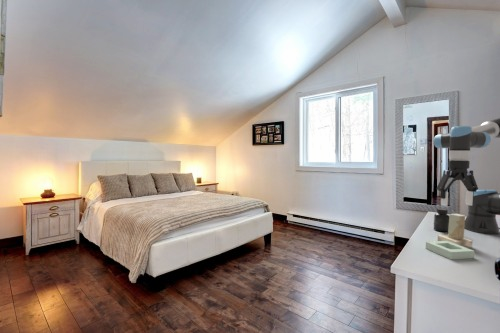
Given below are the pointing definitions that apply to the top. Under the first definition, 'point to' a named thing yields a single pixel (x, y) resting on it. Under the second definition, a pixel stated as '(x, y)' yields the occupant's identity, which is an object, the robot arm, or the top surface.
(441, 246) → the socket
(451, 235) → the box
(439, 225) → the supplement bottle
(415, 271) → the top surface
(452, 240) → the stand
